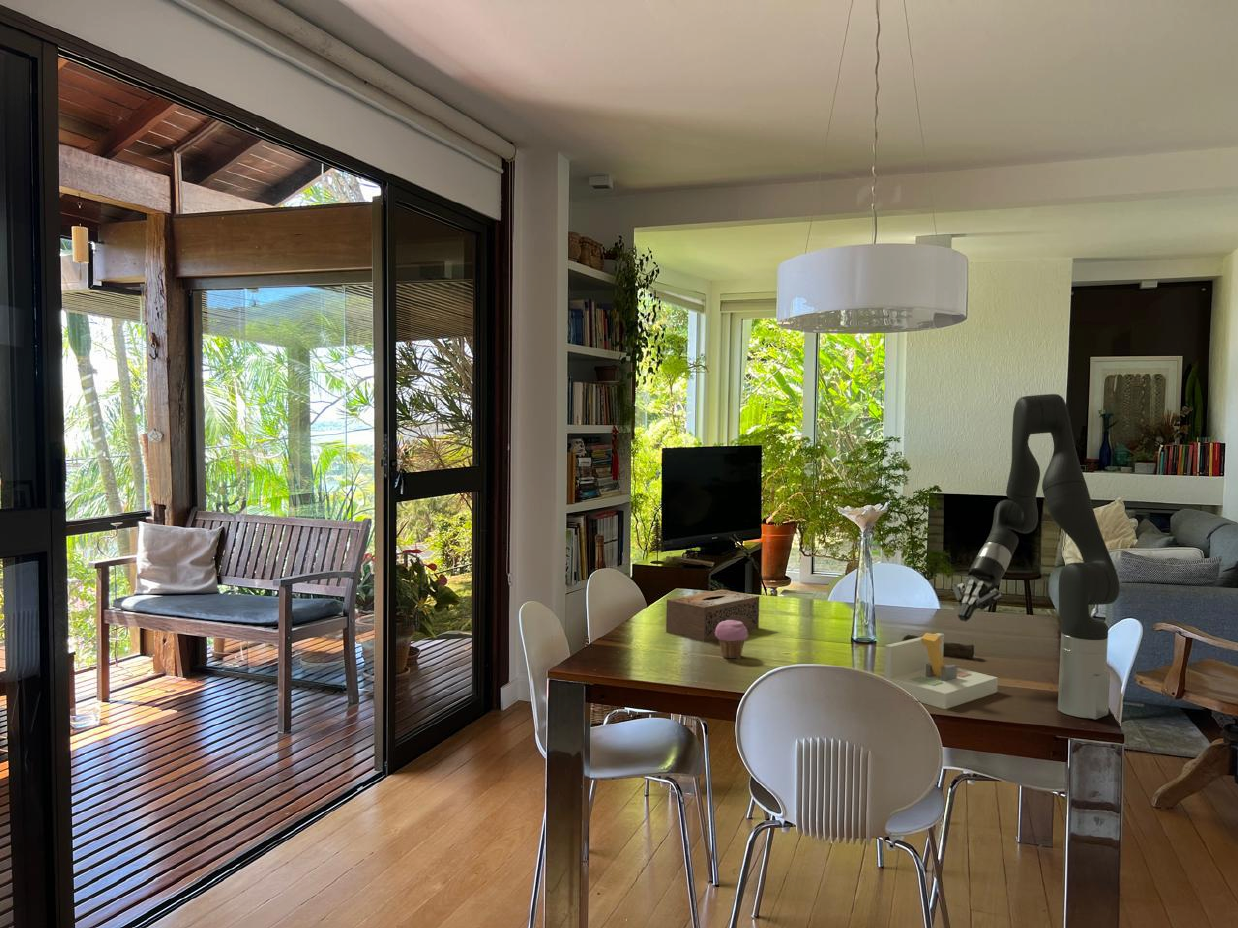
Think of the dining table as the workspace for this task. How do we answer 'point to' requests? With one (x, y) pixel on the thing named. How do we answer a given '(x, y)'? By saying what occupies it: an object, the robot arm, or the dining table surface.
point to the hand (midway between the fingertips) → (962, 618)
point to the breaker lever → (934, 651)
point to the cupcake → (731, 637)
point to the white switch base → (933, 676)
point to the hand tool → (952, 648)
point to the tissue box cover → (710, 613)
